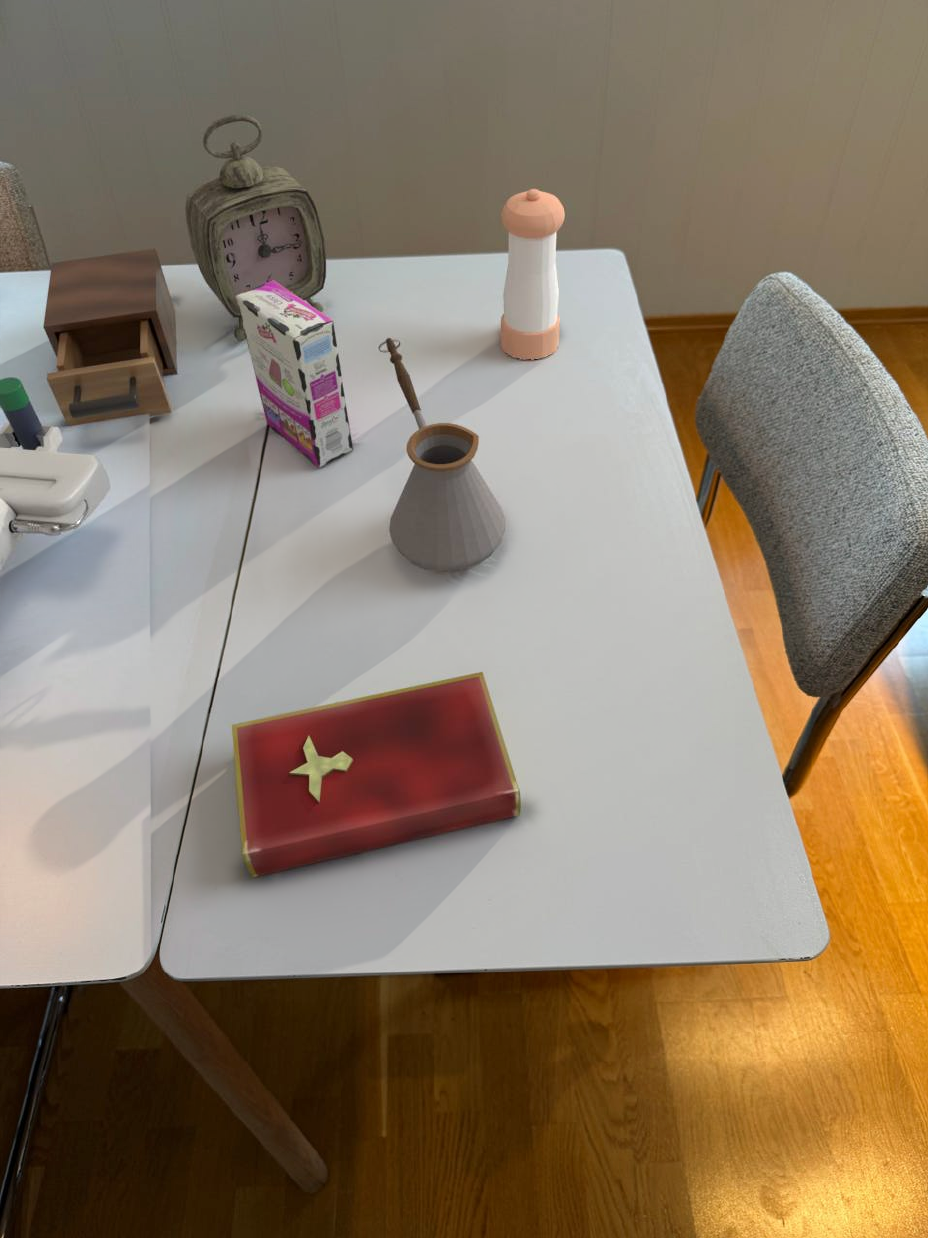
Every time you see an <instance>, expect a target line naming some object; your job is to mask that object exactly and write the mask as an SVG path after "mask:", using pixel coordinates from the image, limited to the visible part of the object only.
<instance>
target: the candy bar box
mask: <svg viewBox="0 0 928 1238" xmlns="http://www.w3.org/2000/svg"><path fill="white" fill-rule="evenodd" d="M236 298H237V302H238V306H239V310H240V314H241V318H242V322H243V329H244V331H245V335H246V339H245V340H246V343H247V347H248V351H249V355H250V360H251V363H252V367H253V372H254V376H255V380H256V385H257V389H258V393H259V397H260V401H261V405H262V409H263V413H264V417H265V422H266V424H267V425H268V426H269V427H270V428H271V429H273V431H274V432H276V433H277V434H279V436H281V437H282V438H283V439H285V441H287V442H289V444H291V445H292V446H293V447H294V448H295V449H297V450H298V451H299V452H300V453H301V454H302V455H304V456H305V457H306V458H307V459H308V460H309V461H311V462H312V464H314V465H316V466H317V467H318V469H319V468H320V469H321V468H323V467H326V466H327V465H329V464H331V463H333V462H335V461H336V460H338V459H339V460H340V458H342V457H344V456H346V455H348V454H349V453H352V452H353V451H354V445H353V440H352V439H353V438H352V432H351V428H350V427H351V426H350V420H349V414H348V408H347V402H346V395H345V390H344V383H343V374H342V369H341V368H342V367H341V363H340V362H341V361H340V355H339V350H338V341H337V337H336V336H337V335H336V331H335V324H334V323H335V322H334V320H333V319H332V318H331V317H329V316H328V315H326V314H324V313H323V312H320V311H318V310H317V309H316V308H314V307H312V306H311V305H310V304H309V303H308V302H307V301H306V300H305V301H304V300H302V299H301V298H299V297H298V296H296V295H295V294H293V293H292V292H290V291H289V290H287V289H286V288H284V287H283V286H281V285H280V284H278V283H277V282H276V281H274V280H272V281H269V282H267V283H264V284H262V285H260V286H257V287H255V288H253V289H251V290H249V291H246V292H244V293H241V294H239V295H237V296H236Z"/></svg>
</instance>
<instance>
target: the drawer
mask: <svg viewBox="0 0 928 1238" xmlns="http://www.w3.org/2000/svg"><path fill="white" fill-rule="evenodd" d="M56 370H57V371H51V372H47V373H46V381H47V384H48V386H49V388H50V390H51V393H52V395H53V396H54V398H55V401H56V403H57V405H58V408H59V410H60V411H61V414H62V416H63V419H64V420H65V422H66V425H67V427H73V426H80V425H85V424H92V423H97V422H98V423H99V422H104V421H109V420H110V421H111V420H116V419H122V418H129V417H135V416H142V415H148V416H149V417H154V416H159V415H167V414H171V413H172V404H171V402H170V397H169V395H168V393H167V390H166V387H165V385H164V376H163V352H162V349H161V346H160V343H159V340H158V337H157V334H156V331H155V329H154V326H153V323H152V320H151V318H147V319H140V320H133V321H127V322H120V323H113V324H107V325H100V326H94V327H87V328H80V329H74V330H67V331H61V332H60V338H59V347H58V356H57V357H56Z"/></svg>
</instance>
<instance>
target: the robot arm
mask: <svg viewBox="0 0 928 1238" xmlns="http://www.w3.org/2000/svg"><path fill="white" fill-rule="evenodd" d="M36 437H37V439H38V441H40V442H41V443H40V445H41V447H40V446H39V447H37V448H36V450H25V449H23V448H20V447H22V446H21V444H20V442H19V440H18V438H17V436H16V435H15V433H14V431H13V429H12V427H11V425H10V423H9V422H6V423H4V425H3V426H2V428H1V429H0V571H1V570H2V569H3V567H4V566H5V564H6V563H7V561H8V560H9V558H10V557H11V555H12V554H13V553H14V551H15V549H16V547H17V546H18V545H19V543H20V541H21V540H22V537H23V534H29V535H35V534H40V535H45V536H48V537H49V536H50V537H56V536H57V537H58V536H61V535H62V533H66V532H70V531H72V530H77V529H78V528H79V527H81V526H82V524H84V522H85V521H86V520H87V519H88V518H89V517H90V516H91V515H92V514H93V512H94V511H95V510H96V509H97V508H98V506H99V505H100V504H101V503H102V502H103V500H104V499H105V497H106V496H107V494H108V493H109V491H110V489H111V481H110V477H109V475H108V472H107V470H106V468H105V466H104V464H103V463H102V460H101V459H100V458H99V457H98V456H97V455H93V454H86V453H85V454H84V453H83V454H82V453H71V452H59V451H58V448H59V447H60V445H61V444H62V442H63V434H62V432H61V430H60V428H59V427H57V426H46V425H42V427H41V430H40V431H39V432H38V433H37V434H36Z"/></svg>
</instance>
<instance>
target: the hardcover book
mask: <svg viewBox="0 0 928 1238" xmlns="http://www.w3.org/2000/svg"><path fill="white" fill-rule="evenodd" d="M499 723H500V722H499V719H498V717H497V714H496V711H495V707H494V704H493V700H492V698H491V695H490V691H489V688H488V685H487V681H486V679H485V675H484V672H483V671H479V672H474V673H471V674H464V675H461V676H456V677H451V678H447V679H441V680H436V681H432V682H428V683H423V684H417V685H414V686H413V685H412V686H409V687H404V688H400V689H399V688H398V689H395V690H390V691H385V692H380V693H376V694H371V695H366V696H362V697H357V698H352V699H346V700H341V701H338V702H333V703H328V704H323V705H318V706H314V707H308V708H305V709H300V710H295V711H290V712H286V713H281V714H276V715H271V716H267V717H263V718H257V719H251V720H248V721H243V722H239V723H234V724H231V733H232V734H231V735H232V745H233V756H234V767H235V779H236V780H235V781H236V782H235V783H236V791H237V792H236V793H237V803H238V817H239V828H240V829H239V830H240V840H241V842H240V843H241V853H242V854H241V855H242V858H243V861H244V863H245V866H246V868H247V870H248V872H249V874H250V875H251V877H252V878H256V877H261V876H265V875H270V874H274V873H277V872H282V871H286V870H291V869H295V868H300V867H303V866H308V865H311V864H312V865H313V864H316V863H320V862H324V861H328V860H333V859H338V858H342V857H346V856H350V855H354V854H355V855H356V854H359V853H364V852H369V851H372V850H377V849H381V848H385V847H390V846H394V845H398V844H401V843H407V842H410V841H415V840H419V839H420V840H421V839H424V838H428V837H432V836H436V835H441V834H446V833H449V832H454V831H458V830H462V829H465V828H471V827H475V826H479V825H484V824H488V823H493V822H496V821H500V820H506V819H509V818H514V817H518V816H520V815H521V806H522V805H521V804H522V803H521V802H522V801H521V792H520V787H519V784H518V781H517V778H516V775H515V773H514V772H515V771H514V768H513V765H512V762H511V760H510V755H509V752H508V750H507V749H508V748H507V746H506V743H505V742H506V741H505V740H504V736H503V734H502V730H501V727H500V724H499Z"/></svg>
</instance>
